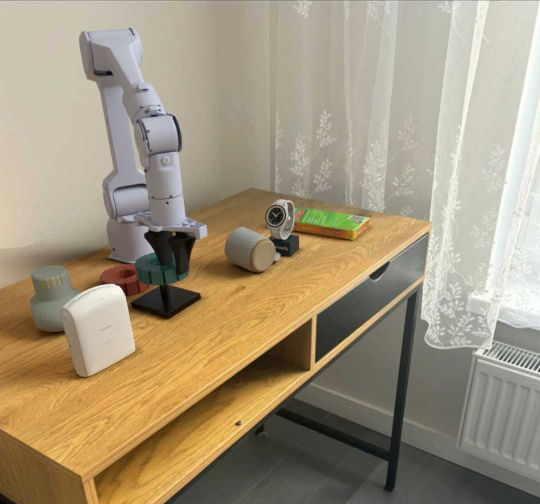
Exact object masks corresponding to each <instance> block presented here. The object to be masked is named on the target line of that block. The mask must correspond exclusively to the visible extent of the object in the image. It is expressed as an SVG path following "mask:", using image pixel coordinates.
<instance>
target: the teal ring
mask: <svg viewBox="0 0 540 504" xmlns="http://www.w3.org/2000/svg"><path fill="white" fill-rule="evenodd" d="M172 253H173V252H172ZM135 271H136V277H137V279H138V280H139V281H140V282H141V283H144V284H147V285H150V286H151V285H152V286H159V285H164V283H165V284H166V285H172V284H176V283H178V282H181V281H183V280H185V279H186V278H187V277H188V276H189V274H190V272H191V271H190V269H189V270H188V272H186V273H184V274H182V275H179V274H178V272H177V269H176V264H175V258H174V255H173V261H172V262H171V263H170V264H167V265H163V266H161V265H160V263H159V260H158V258H157V256H156V254H155V252H154V253H149V254H148V255H144V256H142V257H140V258H139V259H137V260H136V262H135Z"/></svg>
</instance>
